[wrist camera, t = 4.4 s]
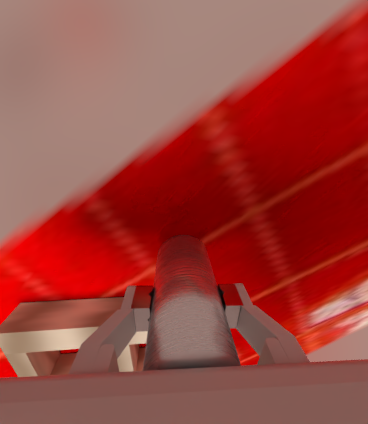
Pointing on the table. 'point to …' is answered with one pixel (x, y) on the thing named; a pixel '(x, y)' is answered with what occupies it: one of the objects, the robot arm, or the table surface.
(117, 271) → the table surface
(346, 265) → the table surface
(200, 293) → the metal pin
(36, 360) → the beige rectangular frame
